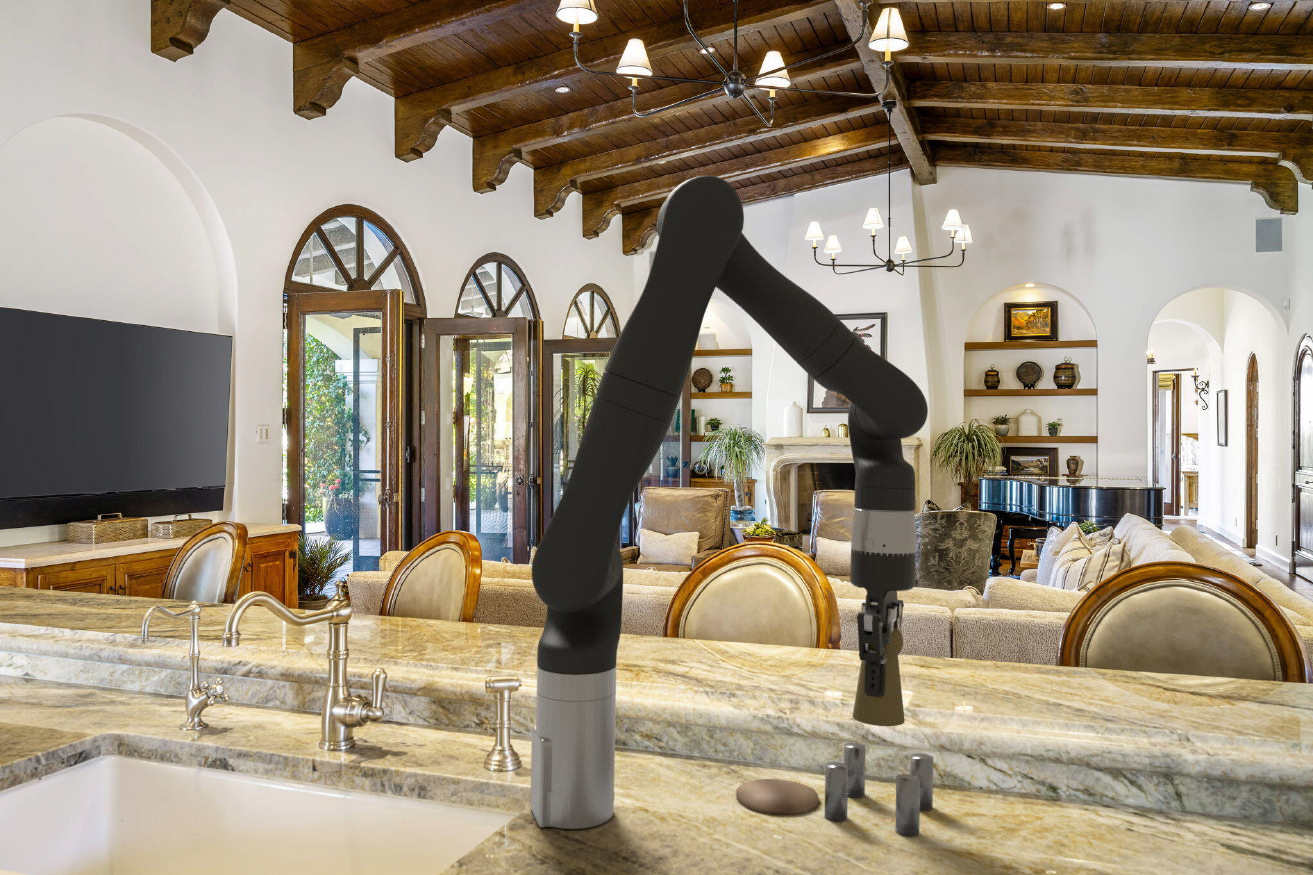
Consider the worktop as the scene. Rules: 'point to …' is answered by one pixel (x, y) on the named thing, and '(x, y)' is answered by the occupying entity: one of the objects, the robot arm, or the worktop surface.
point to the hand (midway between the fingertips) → (879, 690)
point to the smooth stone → (777, 797)
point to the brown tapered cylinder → (891, 703)
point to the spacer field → (850, 782)
